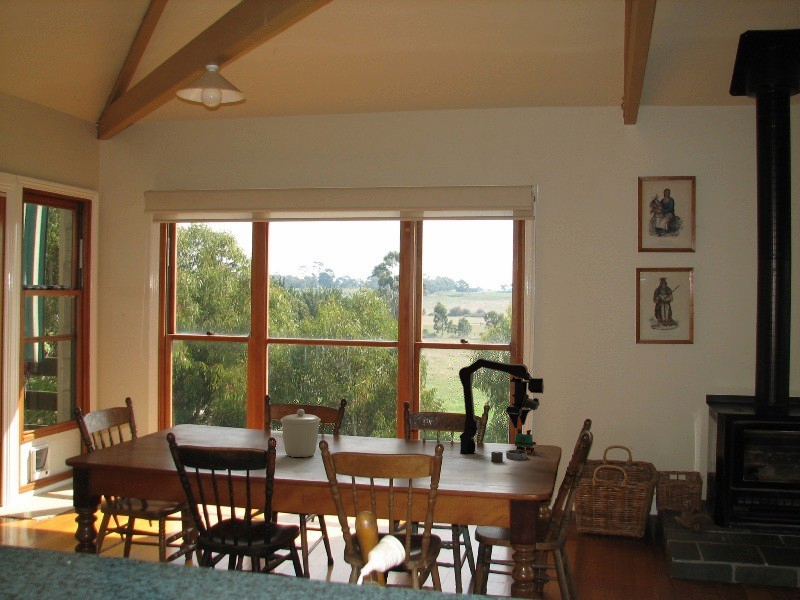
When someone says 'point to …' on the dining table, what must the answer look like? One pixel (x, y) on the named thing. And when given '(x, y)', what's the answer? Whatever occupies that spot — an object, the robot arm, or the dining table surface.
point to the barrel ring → (516, 454)
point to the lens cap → (497, 457)
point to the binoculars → (524, 441)
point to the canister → (300, 434)
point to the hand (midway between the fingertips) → (519, 426)
